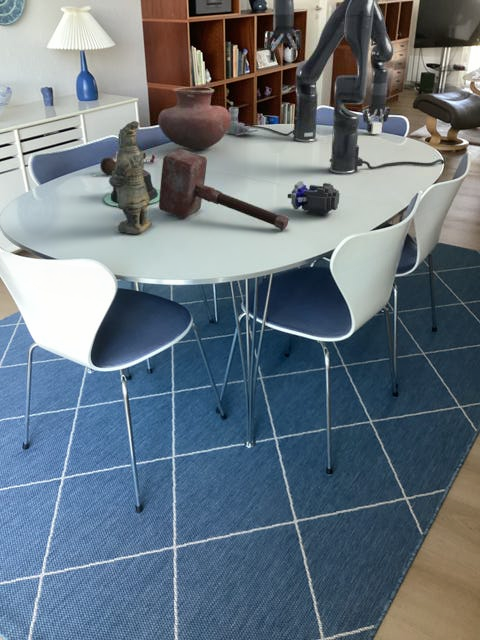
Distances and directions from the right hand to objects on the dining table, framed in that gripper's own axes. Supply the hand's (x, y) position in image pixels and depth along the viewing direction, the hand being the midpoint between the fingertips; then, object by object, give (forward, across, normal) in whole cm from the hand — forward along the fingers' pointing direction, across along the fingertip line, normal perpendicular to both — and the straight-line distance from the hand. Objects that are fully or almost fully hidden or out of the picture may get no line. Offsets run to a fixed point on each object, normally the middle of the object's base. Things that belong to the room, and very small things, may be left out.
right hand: (282, 60), depth 214 cm
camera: (+36, +3, -44) cm, 57 cm away
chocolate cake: (+36, +67, +34) cm, 83 cm away
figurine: (+36, +64, -4) cm, 73 cm away
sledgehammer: (+36, +45, +66) cm, 88 cm away
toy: (+36, +18, +70) cm, 80 cm away
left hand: (+35, -55, -19) cm, 68 cm away
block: (+35, -55, -19) cm, 68 cm away
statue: (+36, +72, +63) cm, 102 cm away
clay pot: (+36, +30, -24) cm, 53 cm away
